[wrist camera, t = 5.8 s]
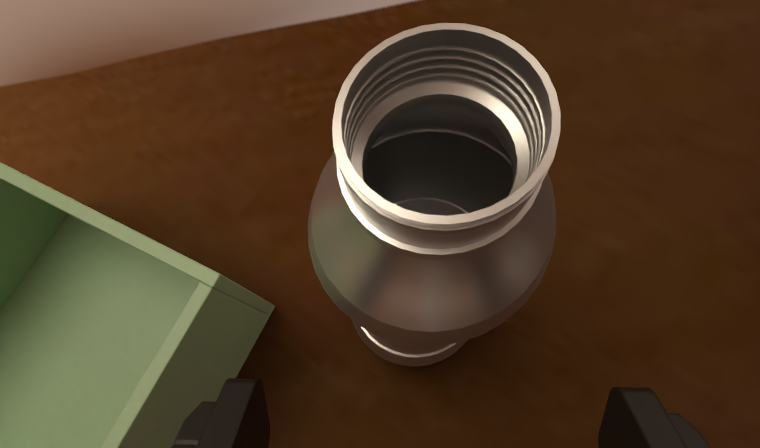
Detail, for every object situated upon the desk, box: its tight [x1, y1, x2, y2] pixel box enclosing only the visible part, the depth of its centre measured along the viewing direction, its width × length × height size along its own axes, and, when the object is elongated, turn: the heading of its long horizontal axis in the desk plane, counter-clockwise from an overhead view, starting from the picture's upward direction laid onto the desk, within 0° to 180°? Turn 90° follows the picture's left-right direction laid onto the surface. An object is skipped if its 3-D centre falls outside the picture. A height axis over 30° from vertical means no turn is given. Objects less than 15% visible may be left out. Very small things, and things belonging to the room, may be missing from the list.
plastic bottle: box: [308, 23, 560, 367], centre depth 17 cm, size 6×7×20 cm
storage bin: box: [0, 162, 275, 448], centre depth 22 cm, size 15×14×9 cm
